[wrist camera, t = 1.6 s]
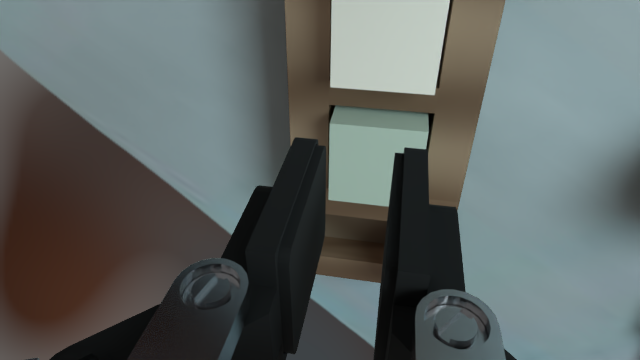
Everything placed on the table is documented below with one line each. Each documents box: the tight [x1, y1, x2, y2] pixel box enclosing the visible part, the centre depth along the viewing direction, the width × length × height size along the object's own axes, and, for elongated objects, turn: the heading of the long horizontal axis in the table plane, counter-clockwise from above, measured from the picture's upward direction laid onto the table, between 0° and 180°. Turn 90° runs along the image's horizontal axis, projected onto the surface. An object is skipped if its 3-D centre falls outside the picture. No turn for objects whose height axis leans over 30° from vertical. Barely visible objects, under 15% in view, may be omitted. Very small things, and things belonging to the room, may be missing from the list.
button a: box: [330, 0, 450, 95], centre depth 22 cm, size 5×5×3 cm
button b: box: [328, 105, 429, 207], centre depth 26 cm, size 5×5×3 cm
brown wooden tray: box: [285, 0, 505, 283], centre depth 27 cm, size 21×10×4 cm, turn 0°
